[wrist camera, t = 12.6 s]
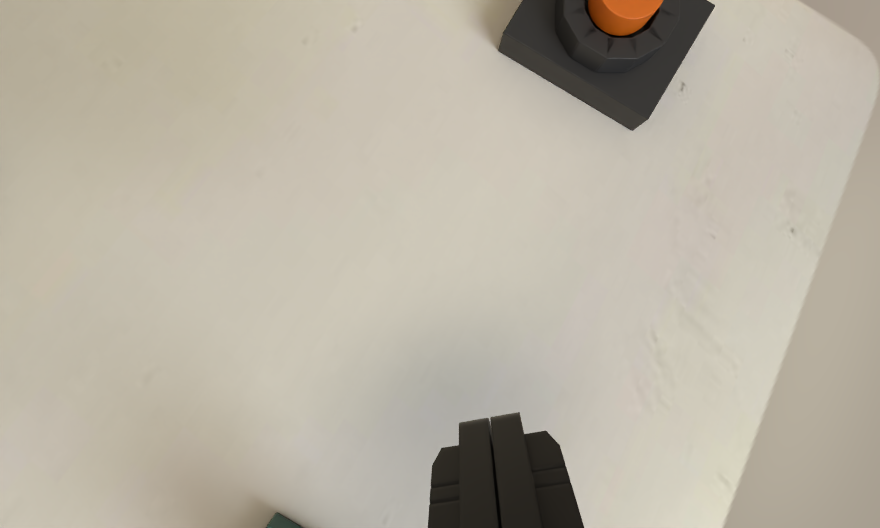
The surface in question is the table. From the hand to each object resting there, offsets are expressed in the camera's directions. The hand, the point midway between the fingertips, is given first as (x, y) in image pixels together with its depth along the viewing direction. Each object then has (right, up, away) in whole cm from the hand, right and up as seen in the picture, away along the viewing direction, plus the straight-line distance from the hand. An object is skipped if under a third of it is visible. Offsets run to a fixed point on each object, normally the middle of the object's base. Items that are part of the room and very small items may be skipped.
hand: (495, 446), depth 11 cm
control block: (+9, +19, +18) cm, 28 cm away
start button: (+9, +19, +14) cm, 25 cm away
